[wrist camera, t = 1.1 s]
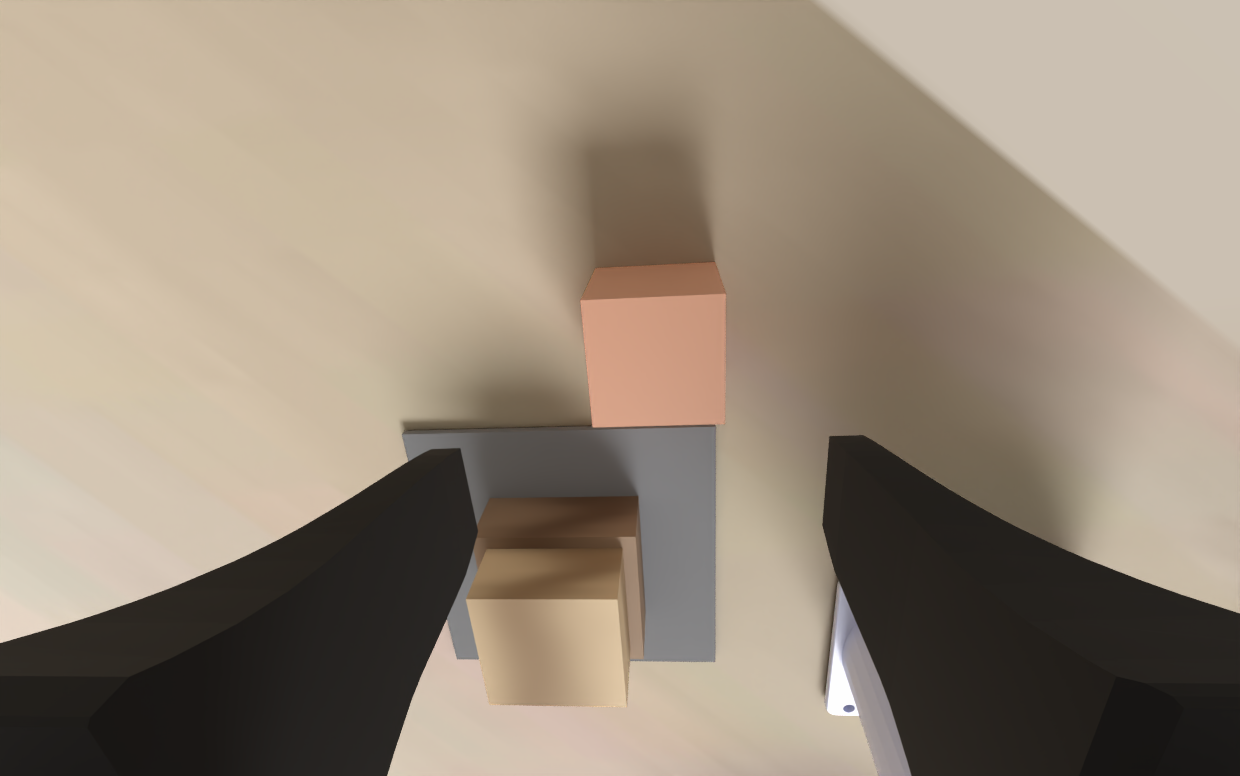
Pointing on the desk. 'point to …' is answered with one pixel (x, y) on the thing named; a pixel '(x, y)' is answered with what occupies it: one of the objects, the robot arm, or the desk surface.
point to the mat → (601, 467)
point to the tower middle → (552, 626)
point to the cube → (655, 345)
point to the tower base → (573, 538)
